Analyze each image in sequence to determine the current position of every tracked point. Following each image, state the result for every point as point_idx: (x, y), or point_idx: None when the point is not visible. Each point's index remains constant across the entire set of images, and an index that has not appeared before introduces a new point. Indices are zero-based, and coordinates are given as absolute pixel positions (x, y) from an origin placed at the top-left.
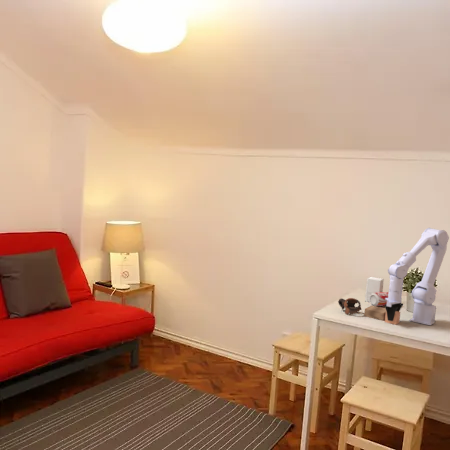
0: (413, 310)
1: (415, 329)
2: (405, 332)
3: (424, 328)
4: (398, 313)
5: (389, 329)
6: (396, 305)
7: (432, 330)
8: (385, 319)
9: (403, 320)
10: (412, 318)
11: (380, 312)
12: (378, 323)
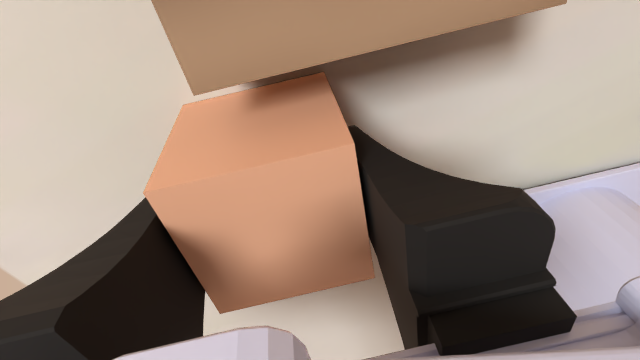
0: (618, 271)
1: (285, 319)
2: None
3: (374, 323)
4: (291, 292)
5: (24, 267)
6: (405, 309)
7: (376, 351)
8: (176, 127)
9: (465, 160)
10: (570, 190)
11: (167, 29)
12: (31, 100)
